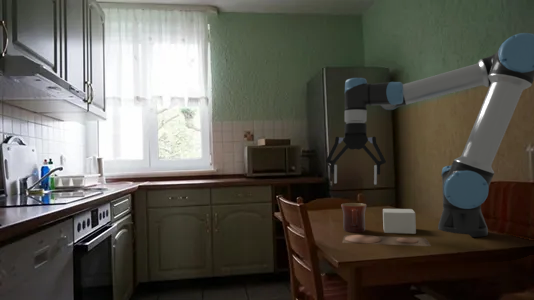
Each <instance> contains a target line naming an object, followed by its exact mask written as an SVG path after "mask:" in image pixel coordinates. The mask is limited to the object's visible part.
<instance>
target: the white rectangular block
mask: <svg viewBox="0 0 534 300" xmlns="http://www.w3.org/2000/svg"><path fill="white" fill-rule="evenodd" d="M416 219H417V218H416V212H415V211H414V210H413V209H412V208H383V209H382V222H383V223H382V225H383V227H382V228H383V233H384V234H385V233H387V234H413V235H414V234H416V233H417V226H416V225H417V224H416Z"/></svg>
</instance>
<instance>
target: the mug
mask: <svg viewBox="0 0 534 300" xmlns="http://www.w3.org/2000/svg"><path fill="white" fill-rule="evenodd" d="M340 206H341V209H342V214H343V219H342V220H343V224H342V225H343V226H342V227H343V231H344V232H347V233H355V234H356V233H364V232H366V218H365V217H366V216H365V214H366V209H367V204H366V203H360V202H357V203H356V202H349V203H348V202H347V203H342V204H341V205H340Z"/></svg>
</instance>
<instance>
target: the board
mask: <svg viewBox="0 0 534 300" xmlns="http://www.w3.org/2000/svg"><path fill="white" fill-rule="evenodd" d="M342 244H365V245H387V246H390V245H391V246H412V247H432V244H431V243H430V242H429V241H428V239H427V238H426V237H412V236H411V237H408V236H378V235H377V236H376V235H370V234H369V235H368V234H351V235H350V234H348V235H347V234H345V235H343V238H342Z"/></svg>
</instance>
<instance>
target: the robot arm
mask: <svg viewBox="0 0 534 300" xmlns="http://www.w3.org/2000/svg"><path fill="white" fill-rule="evenodd" d="M533 83H534V33H529V32H521V33H517V34H514V35H512V36H511V35H510V37H508V38H507V39H506V40H504V41H503V42H502V43H501V45H500V46H499V48H498V50H497V52H495V53H494V54H491V55H489V56H487V57H483V58H480V59H479V60H478V61H477V63H475V64H471V65H467V66H463V67H460V68H456V69H453V70H449V71H446V72H441V73H438V74H436V75H432V76H428V77H425V78H422V79H421V78H420V79H417V80H414V81H411V82H410V81H409V82H406V83H403V82H401V81H390V82H389V81H387V82H376V83H375V82H374V83H368V82H367V79H366V78H364V77H351V78H348V79H346V80H345V83H344V92H343V93H344V123H345V124H344V137H339V136H336V137H335V140H334V144H333V145H332V148H331V150H330V152H329V154H328V155H327V158H326V160H325V163H327V164H330V173H331V174H332V175H333V183H334V184H337V183H338V164H336V163H337V162H338V161H339V160H340V158H342V156H343V155H344V153H346V152H347V150H348V149H349V150H362V149H363V151H365V153H366V154H367V155H368V156H369V157H370V158H371V160H373V162H374V163H375V165H374V167H373V169H374V170H373V171H374V172H373V173H374V175H373V178H374V180H373V184H374V185H377V184H378V182H377V181H378V176H379V175H380V174H381V165H384V164H386V161H387V160H386V159H385V157H384V155H383V153H382V151H381V149H380V147H379V145H378V144H377V143H378V142H377V138H376V136H372V137H371V136H370V137H368V136H367V132H368V131H367V129H368V125H367V124H366V123H367V116H368V114H367V113H368V110H367V109H368V108H367V106H380V107H381V108H382V109H384V110H386V111H393V110H395V109H397V108H399V107H403V106H407V105H409V104H413V103H417V102H422V101H426V100H429V99H433V98H438V97H441V96H445V95H449V94H452V93H457V92H460V91H465V90H468V89H472V88H476V87H481V86H484V87H486V88H488V90H487V92H486V94H485V97H484V99H483V102H482V105H481V107H480V109H479V112H478V113H477V117H476V119H475V121H474V124H473V127H472V129H471V131H470V134H469V136H468V139H467V141H466V143H465V145H464V148H463V151H462V153H461V156H459V157H457V158H455V159H453V161H452V163H451V165H445V166H444V167H442V169H441V177H442V178H441V182H442V185H441V187H442V188H441V189H442V212H441V215H440V217H439V222H438V226H437V227H438V228H437V229H438V230H439V231H443V232H446V233H451V234H452V233H453V234H460V235H461V234H463V235H469V236H470V237H471V238H479V237H480V238H481V237H486V236H488V235H489V233H488V232H489V231H488V230H489V229H488V225H487V223H486V220H485V218H484V215H483V213H482V204H484V203H485V201H486V199H487V198H488V196H489V191H490V190H489V189H490V185H491V182H492V180H493V177H494V175H495V171H494V170H493V167H492V165H493V163H494V159H495V158H496V155H497V154H498V151H499V149H500V145H501V144H502V142H503V141H502V140H503V138H504V137H505V134H506V132H507V130H508V127H509V125H510V122H511V120H512V118H513V115H514V113H515V109H516V108H517V106H518V103H519V101H520V98H521V96H522V93H523V91H524V90H527V89H528V88H530V87H532V85H533ZM342 142H343V143H344V144H345V145H344V146H343V147H342V149H341V150H340V151H339V152H338V154H337V155H336V156H335V157H334V158H333V156H334V154H335V152H336V150H337V148H338V146H339V144H341V143H342ZM368 142H369V143H370V144H372V145H373V148H374V149H375V151H376V153H377V155H378V157H379V159H380V160H378V158H377V157H376V156H375V155H374V154H373V153H372V151H370V149H369V148H368V146H366V144H367V143H368ZM332 158H333V159H332Z"/></svg>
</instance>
